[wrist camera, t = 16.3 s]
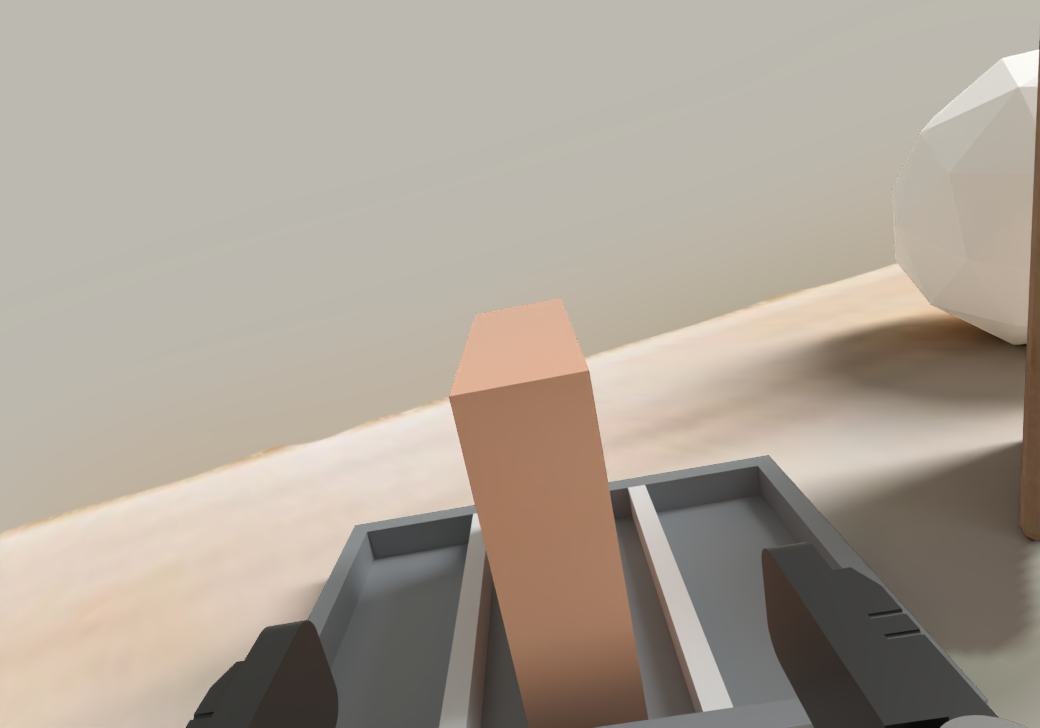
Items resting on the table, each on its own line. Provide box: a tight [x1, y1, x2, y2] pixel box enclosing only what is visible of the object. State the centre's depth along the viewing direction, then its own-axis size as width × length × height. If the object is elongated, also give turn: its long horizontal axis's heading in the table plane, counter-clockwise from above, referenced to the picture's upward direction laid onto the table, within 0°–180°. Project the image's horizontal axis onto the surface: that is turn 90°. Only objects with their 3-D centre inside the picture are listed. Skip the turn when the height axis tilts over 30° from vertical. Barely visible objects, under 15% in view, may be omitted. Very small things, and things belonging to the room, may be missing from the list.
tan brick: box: [449, 298, 648, 728], centre depth 21 cm, size 10×4×11 cm, turn 0°
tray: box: [308, 455, 987, 728], centre depth 23 cm, size 14×20×2 cm
